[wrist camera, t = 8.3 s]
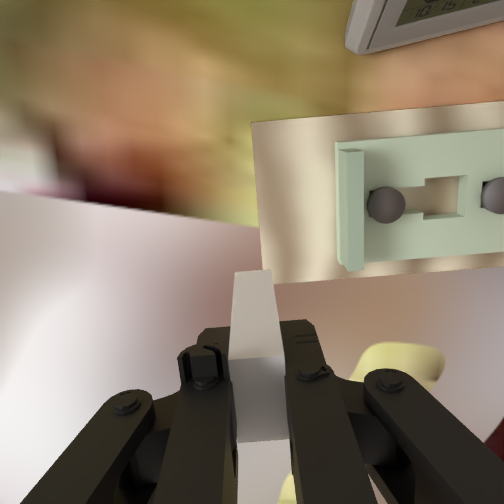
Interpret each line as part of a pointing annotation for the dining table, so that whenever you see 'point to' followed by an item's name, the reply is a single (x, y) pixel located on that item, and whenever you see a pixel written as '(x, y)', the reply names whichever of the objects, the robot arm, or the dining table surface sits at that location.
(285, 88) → the dining table surface
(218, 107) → the dining table surface
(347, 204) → the panel
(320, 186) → the board
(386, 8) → the digital clock
